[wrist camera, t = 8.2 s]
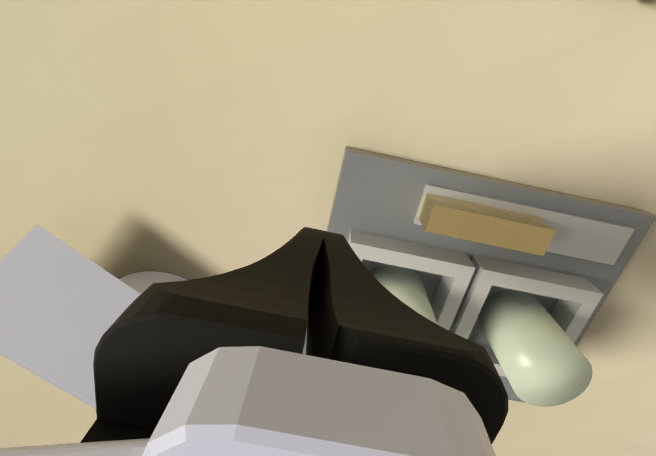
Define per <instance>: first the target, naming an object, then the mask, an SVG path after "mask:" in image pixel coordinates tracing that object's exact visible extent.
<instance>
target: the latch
mask: <svg viewBox="0 0 656 456" xmlns="http://www.w3.org/2000/svg"><path fill="white" fill-rule="evenodd" d="M418 218H419V220H420V222H421V224H422V226H423V228H424V230H425V232H430V233H435V234H440V235H445V236H449V237H454V238H459V239H464V240H469V241H474V242H478V243H483V244H488V245H493V246H498V247H503V248H507V249H512V250H517V251H522V252H527V253H531V254H536V255H541V256H544V254H545V252H546V250H547V248H548V246H549V244H550V242H551V240H552V238H553V236H554V234H555V232H556V230H555V229H554V228H552V227H551V226H550V225H549V224H547V223H546V222H545V221H543V220H542V219H541V218H540V217H538V216H534V215H529V214H524V213H519V212H515V211H510V210H505V209H501V208H496V207H491V206H486V205H482V204H477V203H472V202H467V201H463V200H458V199H453V198H449V197H444V196H439V195H434V194H430V193H426V196H425V199H424V202H423V205H422V208H421V211H420V214H419V217H418Z"/></svg>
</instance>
